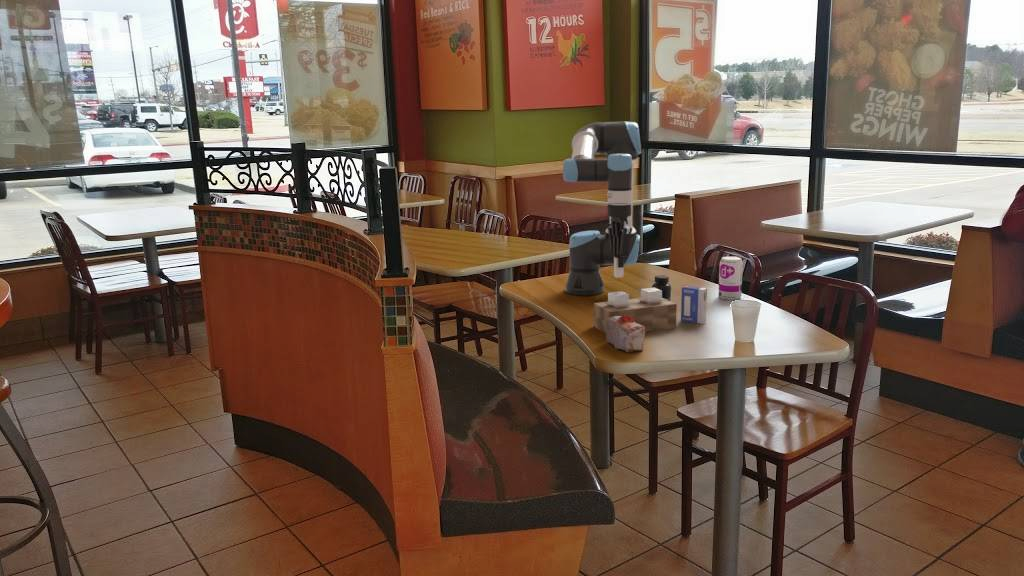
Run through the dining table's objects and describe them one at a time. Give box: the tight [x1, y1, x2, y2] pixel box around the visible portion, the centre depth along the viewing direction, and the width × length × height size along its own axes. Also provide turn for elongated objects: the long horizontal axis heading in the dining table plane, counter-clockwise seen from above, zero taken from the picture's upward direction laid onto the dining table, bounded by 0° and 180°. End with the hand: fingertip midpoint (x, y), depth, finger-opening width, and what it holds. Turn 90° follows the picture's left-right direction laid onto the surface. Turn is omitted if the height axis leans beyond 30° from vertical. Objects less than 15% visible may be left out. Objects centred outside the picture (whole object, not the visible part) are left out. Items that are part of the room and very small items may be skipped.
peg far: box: [640, 287, 662, 304], centre depth 270 cm, size 5×5×7 cm
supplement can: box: [717, 255, 744, 301], centre depth 303 cm, size 8×8×15 cm
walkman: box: [680, 285, 708, 325], centre depth 273 cm, size 8×3×12 cm, turn 56°
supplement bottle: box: [651, 274, 672, 302], centre depth 289 cm, size 7×7×12 cm
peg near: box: [607, 290, 630, 308], centre depth 266 cm, size 5×5×7 cm
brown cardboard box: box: [593, 297, 678, 335], centre depth 269 cm, size 12×24×8 cm, turn 110°
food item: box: [605, 315, 646, 353], centre depth 248 cm, size 14×8×10 cm, turn 26°
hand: (618, 276), depth 263 cm, fingers closed
